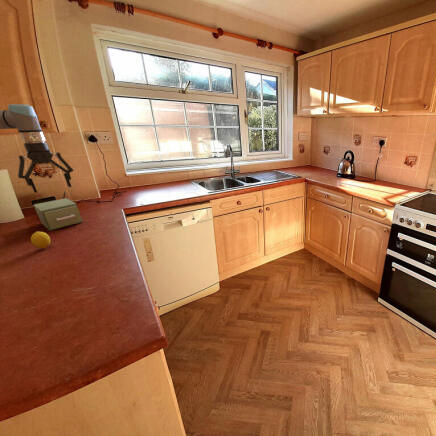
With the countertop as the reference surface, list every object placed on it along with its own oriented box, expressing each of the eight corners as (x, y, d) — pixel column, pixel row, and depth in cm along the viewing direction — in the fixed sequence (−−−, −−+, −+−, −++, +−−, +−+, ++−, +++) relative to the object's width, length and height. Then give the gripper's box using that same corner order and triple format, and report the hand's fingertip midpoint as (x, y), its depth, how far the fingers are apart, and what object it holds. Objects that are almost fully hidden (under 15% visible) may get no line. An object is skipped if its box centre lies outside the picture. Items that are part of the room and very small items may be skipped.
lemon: (42, 252, 101) (34, 234, 98) (32, 251, 102) (23, 234, 99) (56, 245, 106) (49, 229, 103) (46, 245, 107) (39, 228, 104)
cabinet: (82, 222, 132) (76, 203, 128) (49, 230, 121) (40, 210, 118) (73, 215, 141) (66, 198, 137) (41, 223, 131) (33, 204, 127)
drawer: (85, 223, 127) (79, 207, 124) (53, 232, 118) (46, 215, 114) (72, 215, 139) (67, 200, 136) (43, 222, 130) (36, 206, 127)
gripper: (-5, 144, 98) (19, 196, 106) (71, 140, 116) (86, 185, 124) (-7, 144, 102) (16, 194, 110) (66, 140, 120) (81, 183, 128)
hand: (53, 189), depth 117 cm, fingers open, 12 cm apart
